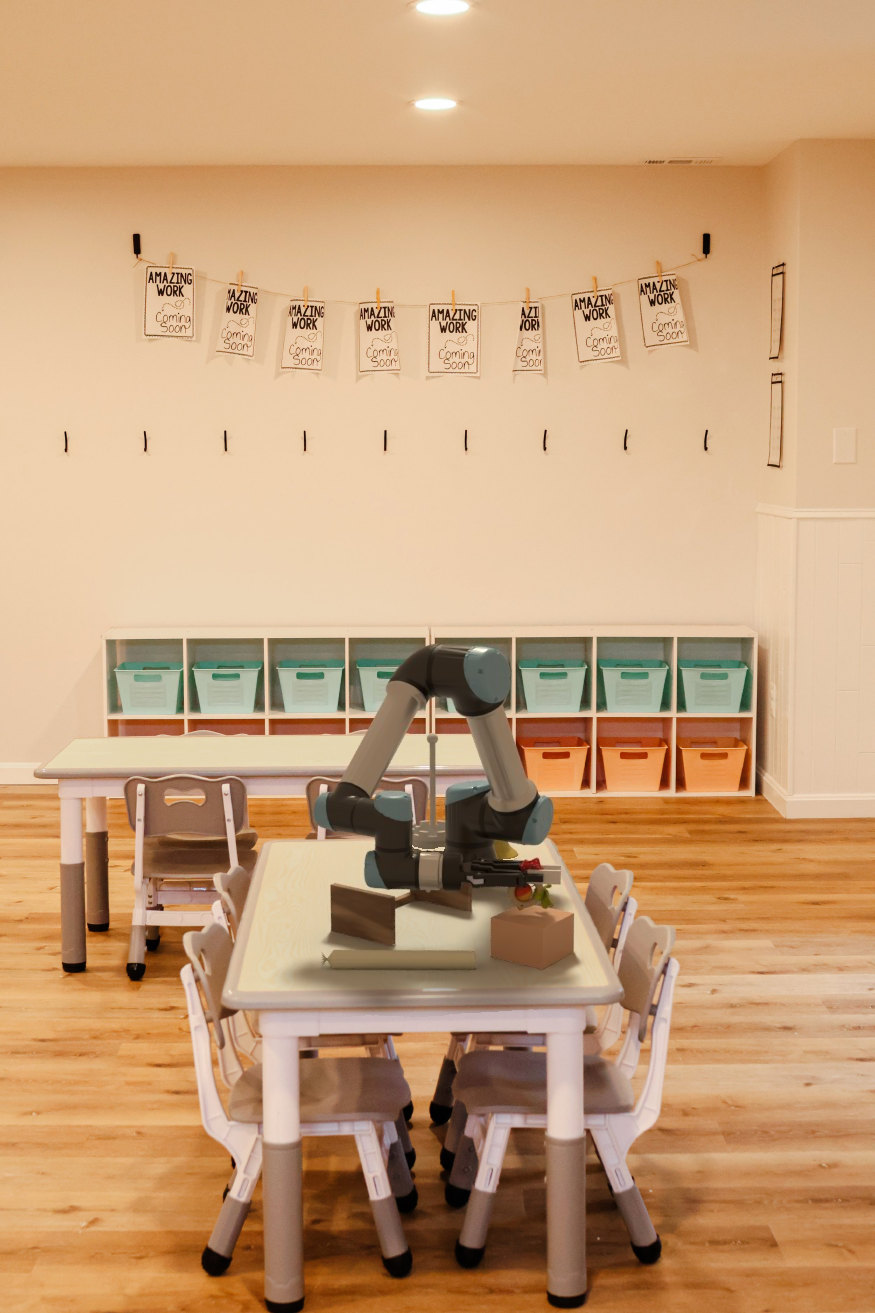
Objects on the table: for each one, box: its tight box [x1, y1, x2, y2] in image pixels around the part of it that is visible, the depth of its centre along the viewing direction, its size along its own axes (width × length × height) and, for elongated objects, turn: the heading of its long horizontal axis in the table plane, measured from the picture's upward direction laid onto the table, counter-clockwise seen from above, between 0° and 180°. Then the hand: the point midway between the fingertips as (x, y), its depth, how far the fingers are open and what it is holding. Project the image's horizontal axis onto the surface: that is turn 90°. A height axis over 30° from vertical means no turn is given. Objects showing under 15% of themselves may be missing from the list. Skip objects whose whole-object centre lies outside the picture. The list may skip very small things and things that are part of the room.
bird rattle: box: [507, 857, 555, 910], centre depth 258 cm, size 6×11×9 cm
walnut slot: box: [329, 882, 473, 947], centre depth 281 cm, size 29×16×10 cm, turn 144°
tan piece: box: [320, 949, 477, 970], centre depth 253 cm, size 4×30×4 cm, turn 89°
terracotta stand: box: [490, 904, 575, 970], centre depth 260 cm, size 12×12×8 cm
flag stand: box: [412, 732, 445, 849], centre depth 339 cm, size 13×13×30 cm
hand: (560, 874), depth 258 cm, fingers closed on bird rattle, 3 cm apart
